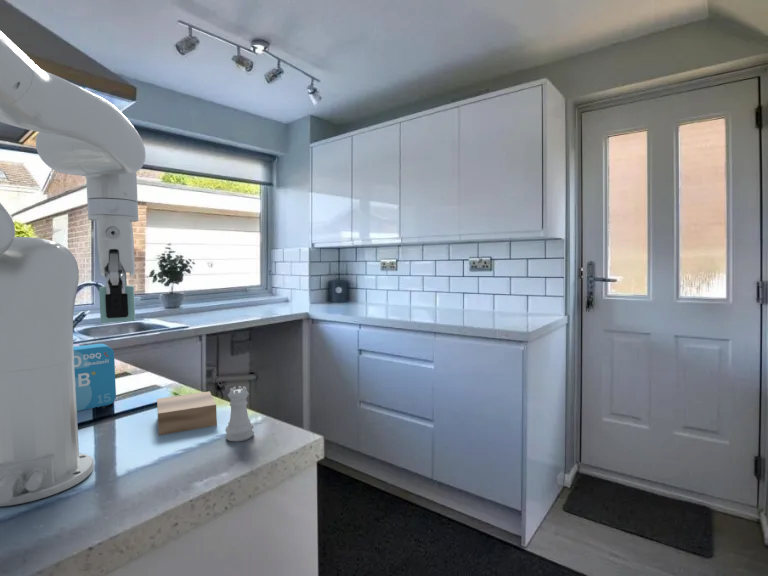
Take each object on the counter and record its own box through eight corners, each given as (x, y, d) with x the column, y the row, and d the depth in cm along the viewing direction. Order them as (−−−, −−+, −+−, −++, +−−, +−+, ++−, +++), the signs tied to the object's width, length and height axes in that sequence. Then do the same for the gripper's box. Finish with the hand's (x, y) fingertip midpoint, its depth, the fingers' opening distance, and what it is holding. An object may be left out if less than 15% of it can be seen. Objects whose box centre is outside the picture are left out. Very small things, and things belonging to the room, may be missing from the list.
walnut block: (216, 427, 77) (216, 404, 77) (159, 437, 73) (158, 413, 72) (210, 411, 85) (209, 391, 85) (157, 420, 81) (156, 398, 80)
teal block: (134, 320, 77) (133, 286, 77) (100, 323, 75) (99, 287, 74) (135, 317, 81) (133, 285, 81) (103, 319, 79) (101, 286, 79)
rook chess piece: (221, 436, 72) (219, 388, 71) (247, 429, 75) (246, 383, 74) (231, 445, 68) (229, 394, 68) (258, 437, 71) (257, 388, 71)
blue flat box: (42, 418, 81) (38, 354, 80) (39, 412, 85) (35, 350, 84) (116, 403, 89) (113, 345, 89) (111, 398, 93) (108, 342, 92)
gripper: (137, 207, 71) (142, 319, 72) (138, 217, 86) (142, 310, 87) (81, 205, 68) (87, 322, 69) (92, 216, 83) (97, 312, 84)
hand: (118, 314), depth 78 cm, fingers closed on teal block, 5 cm apart
